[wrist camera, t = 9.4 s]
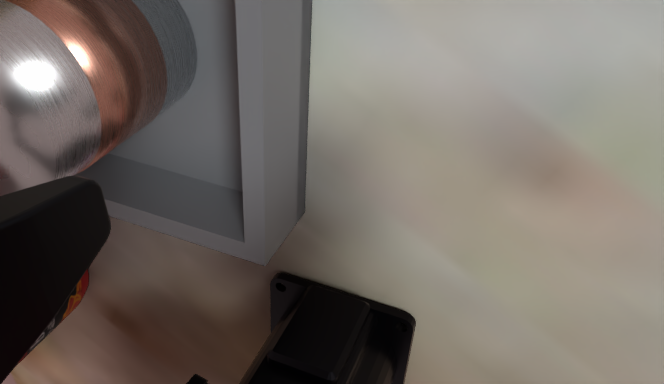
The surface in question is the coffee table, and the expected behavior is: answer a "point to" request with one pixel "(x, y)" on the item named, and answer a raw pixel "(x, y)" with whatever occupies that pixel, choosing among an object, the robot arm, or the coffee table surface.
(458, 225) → the coffee table surface
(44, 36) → the steel tin
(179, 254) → the coffee table surface
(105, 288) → the coffee table surface
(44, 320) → the robot arm
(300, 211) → the tote
